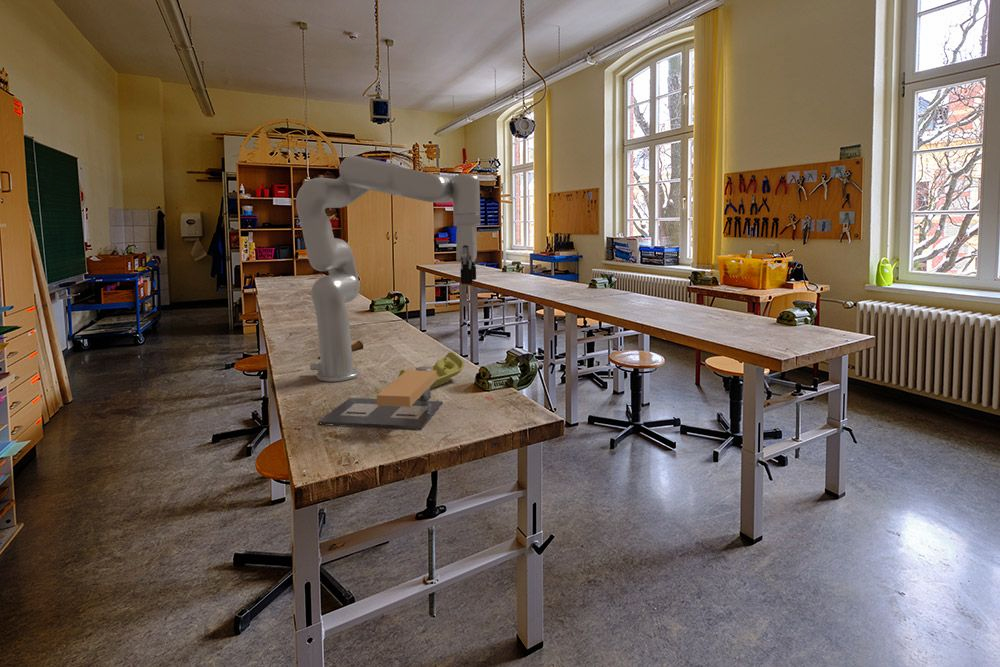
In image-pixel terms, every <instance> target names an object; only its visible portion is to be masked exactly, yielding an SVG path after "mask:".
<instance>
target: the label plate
mask: <svg viewBox="0 0 1000 667" xmlns="http://www.w3.org/2000/svg"><path fill="white" fill-rule="evenodd" d="M430 398H432V397H431V389H430V387H429V388H428V389H427V390H426V391H425V392H424V393H423V394H422V395H421V396H420V397H419V400H418V399H417V400H416V401H415V402H414V404H413V405H412V406H411V407H400V406H377V398H362V397H360V398H359V397H349V398H348V399H346V400H345V401H343V402H342V403H341V404H339V405H338V406H337V407H336V408H334V409H333V410H332V411H330V412H329V413H327V414H326V415H325V416H323V417H321V418H320V419H319V420H318V421H317V425H318V424H320V423H321V424H333V425H332V426H338V425H346V426H345V427H358V426H360V427H361V428H363V427H364V428H381V429H382V428H383V429H401V430H402V429H403V430H421V429H422V428H423V429H424V427H425V426H426V425H427V424H428V423H429V422H430V420H431V419H432V418H433V417H434V415H435V414H436V413H437V412H438V411H439V410H440V408H441V407H442V406H443V401H441V400H439V401H438V400H437V401H436V400H431V399H430ZM429 399H430V400H429ZM441 405H442V406H441ZM440 406H441V407H440ZM439 407H440V408H439ZM436 411H437V412H436ZM435 412H436V413H435ZM432 416H433V417H432ZM431 417H432V418H431ZM423 429H422V430H423Z"/></svg>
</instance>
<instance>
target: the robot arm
mask: <svg viewBox="0 0 1000 667" xmlns="http://www.w3.org/2000/svg"><path fill="white" fill-rule="evenodd" d="M338 170H339V175H340V176H338V177H337V178H328V177H314V178H311V179H309V180H307V181H306V182H304V183H303V184H302V185H301V187H299V189H298V192H297V195H296V199H295V206H296V212H297V216H298V219H299V222H300V226H301V230H302V236H303V241H304V245H305V250H306V254H307V259H308V261H309V264H310V266H311V267H312V268H313V269H314V270H315V271H318V272H328V274H327V275H325V276H322V277H320V278H318V279H317V280H315V282H314V283H313V284H312V287H311V299H312V304H313V305H314V306H313V307H314V310H315V315H316V324H317V326H316V327H317V334H318V336H317V337H318V345H319V346H318V347H319V357H320V359H319V360H320V362H310V366H309V369H310V370H311V371H317V373H316V379H317V380H318V381H322V382H327V383H328V382H333V383H334V382H342V381H348V380H351V379H352V380H353V379H354V378H356V377H358V376H359V370H358V369H356V368H354V364H353V351H352V348H351V345H352V339H351V338H352V336H351V335H352V334H351V326H350V323H351V322H350V316H349V312H348V311H347V307H346V303H349V302H352V301H353V300H355V299H356V298H357V297H358V295H359V292H360V281H359V275H358V270H357V266H356V261H355V257H354V252H353V250H352V248H351V247H350V245H349V244H348V242H346V241H345V240H343V239H341V238H337V237H336V238H335V236H334V232H333V226H332V222H331V220H330V218H329V216H328V215H327V213H326V209H327V208H328V209H329V208H331V209H332V208H333V209H334V208H336V209H342V208H345V207H348V206H349V205H351V204H352V203H353V202H355V201H356V200H358V199H359V198H360V197H362V196H364V195H365V194H366V193H368V192H369V191H374V192H380V193H383V194H388V195H393V196H399V197H405V198H409V199H412V200H418V201H423V202H427V203H437V204H440V203H441V204H445V203H451V202H452V212H453V214H452V217H453V218H452V219H453V220H452V221H453V227H456V237H455V238H456V243H455V244H456V251H455V252H456V254H455V256H456V262H458V263H460V270H459V271H460V284H461V285H471V284H473V281H475V280H476V279H477V266H476V260H477V256H478V238H477V237H478V234H477V229H478V228H477V227H479V226H481V195H480V194H481V193H480V190H481V188H480V179H479V177H478V176H477V175H475V174H457V175H454V176H448V175H442V174H437V173H431V172H424V171H420V170H415V169H410V168H406V167H402V166H401V165H399V164H396V163H393V162H388V161H387V162H386V161H382V160H377V159H373V158H368V157H362V156H358V155H352V156H347V157H346V158H344V159H343V160H342V161H341V163H340V165H339V168H338Z"/></svg>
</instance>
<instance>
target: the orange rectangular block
mask: <svg viewBox="0 0 1000 667" xmlns="http://www.w3.org/2000/svg"><path fill="white" fill-rule="evenodd" d="M398 376H399V375H398ZM398 376H397V378H395V379H394V380H393V381H392V382H391V383H390V384H388V385H387V386H386V387H385V388H384V389H383V390H381V391H380V392H379V393H378V394H376V399H377V406H400V407H411V406H412V405H413V404H414V402H415V401H416V400H417V401H418V399H420V396H421V395H422V394H423V393H424V392H425V391H426V390H427V389H428V388H429V387H430V386H431V385H432V384H433V383H434V382H435V381H436V380H437V371H435V370H432V368H431V366H418V367H416V368H415V369H406V371H405V372H404V373H403V374H402V375H401V376H399V377H398Z"/></svg>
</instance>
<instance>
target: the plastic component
mask: <svg viewBox="0 0 1000 667" xmlns="http://www.w3.org/2000/svg"><path fill="white" fill-rule="evenodd" d="M430 367H431V368H432V370H435V371H437V380H436V381H435V382H434V383H433V384H432V385H431V386H430V390H432V389H434V388H437V387H439V386H441V385H444V384H446V383H448V382H450V379H451V378H454V377H455V376H457V375H458V374H459V373H461V371H462V370H463V369H464V367H465V361H464V360H463V359H462V358H461V357H460V356H459V355H457V354H456V353H455V352H454V351H450V352H448V353H447V354H446V355H445V356H444V357H442V358H441V359H438V360H437V361H436V362H435V365H432V366H430ZM405 371H407V369H401V370H400V372H399V374H398V376H397V378H398V377H399V376H401V375H402V374H403V373H404V372H405ZM431 388H432V389H431Z"/></svg>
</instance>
